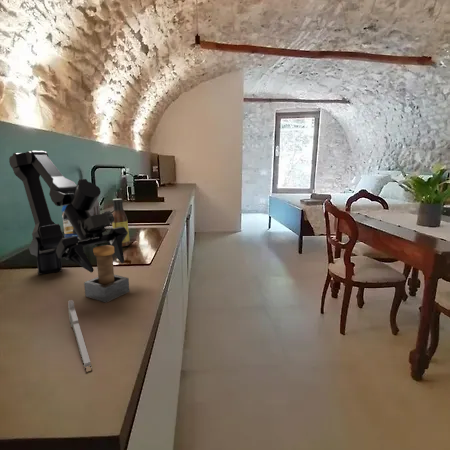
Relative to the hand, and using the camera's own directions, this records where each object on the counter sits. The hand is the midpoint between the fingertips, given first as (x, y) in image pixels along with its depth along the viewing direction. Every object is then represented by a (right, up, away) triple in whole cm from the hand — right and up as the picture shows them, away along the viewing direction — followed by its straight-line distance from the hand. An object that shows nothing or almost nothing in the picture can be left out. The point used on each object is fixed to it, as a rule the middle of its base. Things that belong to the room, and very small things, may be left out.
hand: (108, 266), depth 86 cm
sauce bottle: (-13, +2, +52) cm, 54 cm away
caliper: (+2, -13, -21) cm, 25 cm away
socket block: (-1, -8, +2) cm, 8 cm away
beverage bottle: (-40, +5, +67) cm, 78 cm away
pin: (-1, -8, +2) cm, 8 cm away
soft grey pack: (-41, +9, +88) cm, 97 cm away
